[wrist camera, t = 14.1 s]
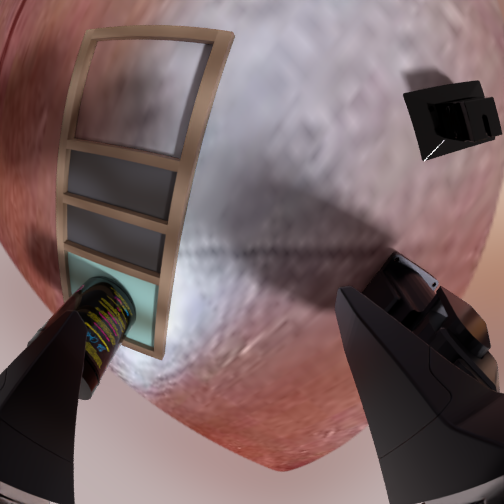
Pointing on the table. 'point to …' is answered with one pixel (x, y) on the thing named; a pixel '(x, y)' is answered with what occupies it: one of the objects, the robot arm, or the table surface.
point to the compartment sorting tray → (130, 193)
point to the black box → (452, 118)
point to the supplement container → (99, 325)
